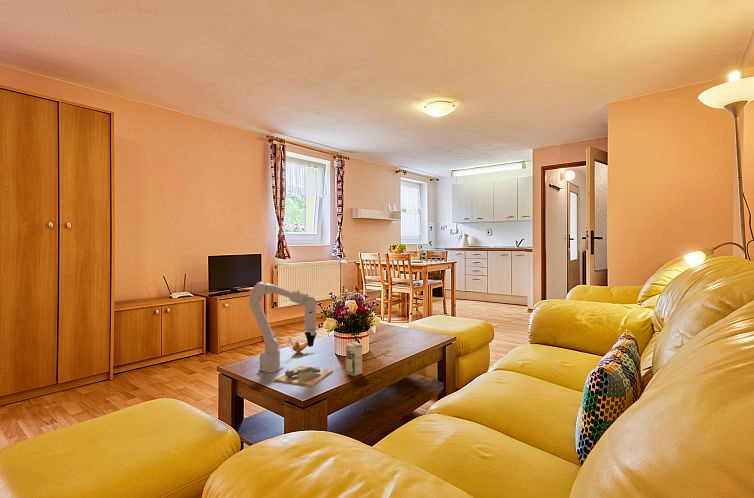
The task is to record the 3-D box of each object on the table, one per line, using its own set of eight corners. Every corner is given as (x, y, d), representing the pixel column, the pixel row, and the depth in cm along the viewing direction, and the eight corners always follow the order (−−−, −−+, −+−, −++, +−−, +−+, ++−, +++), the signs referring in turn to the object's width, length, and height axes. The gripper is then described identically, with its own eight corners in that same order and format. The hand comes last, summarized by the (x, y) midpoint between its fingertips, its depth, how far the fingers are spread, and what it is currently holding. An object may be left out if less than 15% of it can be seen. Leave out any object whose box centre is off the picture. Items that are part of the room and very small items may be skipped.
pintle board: (273, 381, 170) (273, 376, 170) (297, 367, 189) (297, 363, 189) (311, 386, 163) (311, 382, 163) (332, 371, 182) (332, 367, 182)
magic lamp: (317, 351, 217) (317, 332, 217) (291, 358, 204) (290, 338, 203) (310, 349, 221) (310, 330, 221) (284, 355, 208) (283, 336, 208)
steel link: (285, 377, 169) (285, 372, 169) (284, 374, 173) (284, 369, 173) (320, 372, 175) (320, 367, 175) (318, 369, 179) (318, 365, 179)
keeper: (298, 379, 169) (298, 370, 169) (297, 376, 173) (297, 368, 173) (312, 377, 172) (312, 369, 172) (311, 374, 175) (311, 366, 175)
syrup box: (345, 373, 179) (345, 343, 179) (354, 370, 183) (354, 341, 183) (353, 376, 175) (353, 346, 175) (362, 373, 179) (362, 343, 179)
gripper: (321, 321, 184) (321, 349, 184) (315, 316, 198) (315, 342, 198) (306, 323, 181) (307, 350, 182) (301, 317, 195) (302, 343, 195)
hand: (310, 346), depth 190 cm, fingers closed
